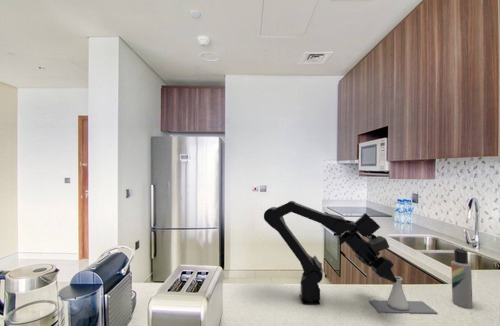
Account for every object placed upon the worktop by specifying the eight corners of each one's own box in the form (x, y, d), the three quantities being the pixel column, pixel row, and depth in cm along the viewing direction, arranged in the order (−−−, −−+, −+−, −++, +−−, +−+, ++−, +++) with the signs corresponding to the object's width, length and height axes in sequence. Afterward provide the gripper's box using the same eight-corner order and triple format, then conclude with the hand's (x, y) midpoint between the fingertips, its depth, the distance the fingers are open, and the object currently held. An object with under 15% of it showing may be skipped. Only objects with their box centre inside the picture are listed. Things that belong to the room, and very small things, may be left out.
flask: (412, 312, 86) (412, 283, 87) (389, 309, 88) (389, 280, 89) (405, 302, 93) (404, 274, 94) (384, 299, 95) (383, 272, 96)
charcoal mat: (378, 313, 87) (378, 311, 87) (368, 301, 95) (368, 300, 95) (437, 314, 86) (437, 312, 86) (422, 302, 94) (422, 301, 94)
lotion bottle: (468, 302, 95) (466, 248, 96) (475, 309, 90) (473, 252, 90) (449, 299, 97) (448, 246, 98) (456, 306, 91) (454, 250, 92)
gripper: (387, 235, 83) (421, 270, 82) (362, 224, 102) (390, 252, 101) (363, 259, 83) (397, 294, 82) (343, 243, 101) (370, 272, 101)
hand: (388, 276), depth 91 cm, fingers open, 9 cm apart
